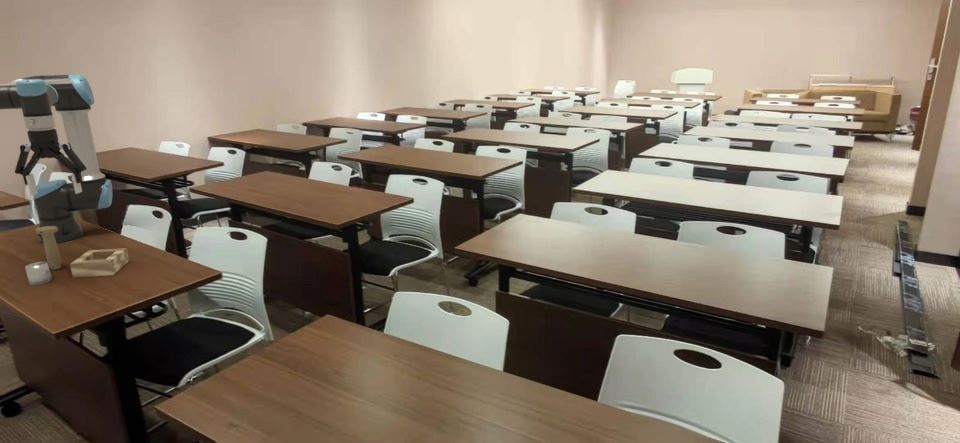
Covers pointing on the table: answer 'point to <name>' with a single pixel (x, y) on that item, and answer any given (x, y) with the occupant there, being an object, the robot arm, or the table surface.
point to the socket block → (99, 262)
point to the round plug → (38, 273)
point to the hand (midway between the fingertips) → (56, 193)
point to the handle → (50, 246)
